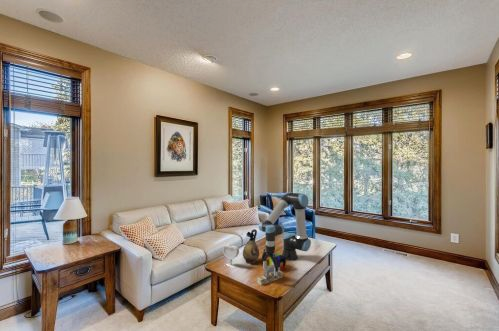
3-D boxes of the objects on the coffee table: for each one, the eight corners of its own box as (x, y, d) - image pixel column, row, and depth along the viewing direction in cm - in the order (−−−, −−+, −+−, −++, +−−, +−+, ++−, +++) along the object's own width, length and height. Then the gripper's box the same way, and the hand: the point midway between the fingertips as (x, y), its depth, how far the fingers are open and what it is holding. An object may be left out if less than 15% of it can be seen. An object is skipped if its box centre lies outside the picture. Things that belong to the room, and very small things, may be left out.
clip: (273, 276, 190) (273, 264, 190) (275, 277, 187) (275, 266, 187) (264, 279, 185) (264, 267, 185) (266, 281, 182) (266, 268, 182)
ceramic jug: (251, 266, 210) (251, 233, 209) (239, 261, 220) (239, 229, 220) (263, 261, 222) (263, 229, 222) (251, 256, 233) (252, 226, 232)
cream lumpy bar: (278, 275, 194) (278, 270, 194) (282, 277, 190) (282, 272, 190) (257, 282, 182) (257, 277, 182) (260, 285, 178) (260, 280, 178)
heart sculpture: (222, 264, 214) (222, 244, 213) (225, 262, 218) (225, 243, 218) (236, 268, 206) (236, 248, 205) (239, 266, 210) (239, 246, 210)
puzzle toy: (277, 271, 201) (277, 259, 200) (269, 267, 209) (269, 256, 208) (285, 268, 206) (285, 257, 206) (277, 264, 214) (277, 253, 214)
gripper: (257, 241, 194) (257, 267, 194) (277, 251, 173) (277, 279, 174) (264, 240, 198) (264, 265, 198) (284, 249, 178) (284, 277, 178)
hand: (270, 272), depth 186 cm, fingers open, 13 cm apart
